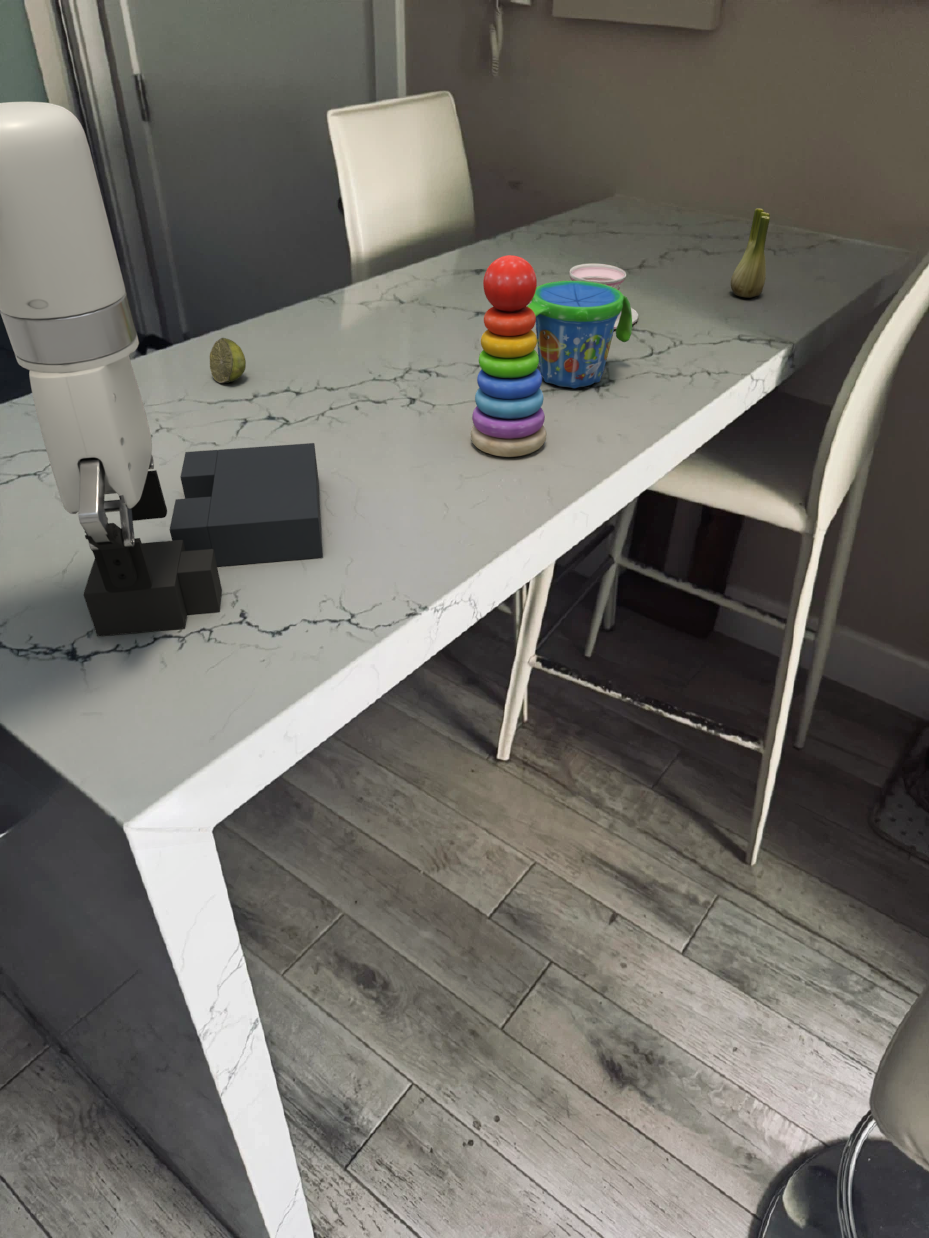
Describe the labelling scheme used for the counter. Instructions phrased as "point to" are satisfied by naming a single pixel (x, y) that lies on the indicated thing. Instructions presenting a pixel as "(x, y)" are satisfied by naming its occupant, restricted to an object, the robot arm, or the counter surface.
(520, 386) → the stacking toy
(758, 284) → the fennel bulb
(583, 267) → the teacup
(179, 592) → the dark tabbed block
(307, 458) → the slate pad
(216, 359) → the lime
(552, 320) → the snack cup
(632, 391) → the counter surface
